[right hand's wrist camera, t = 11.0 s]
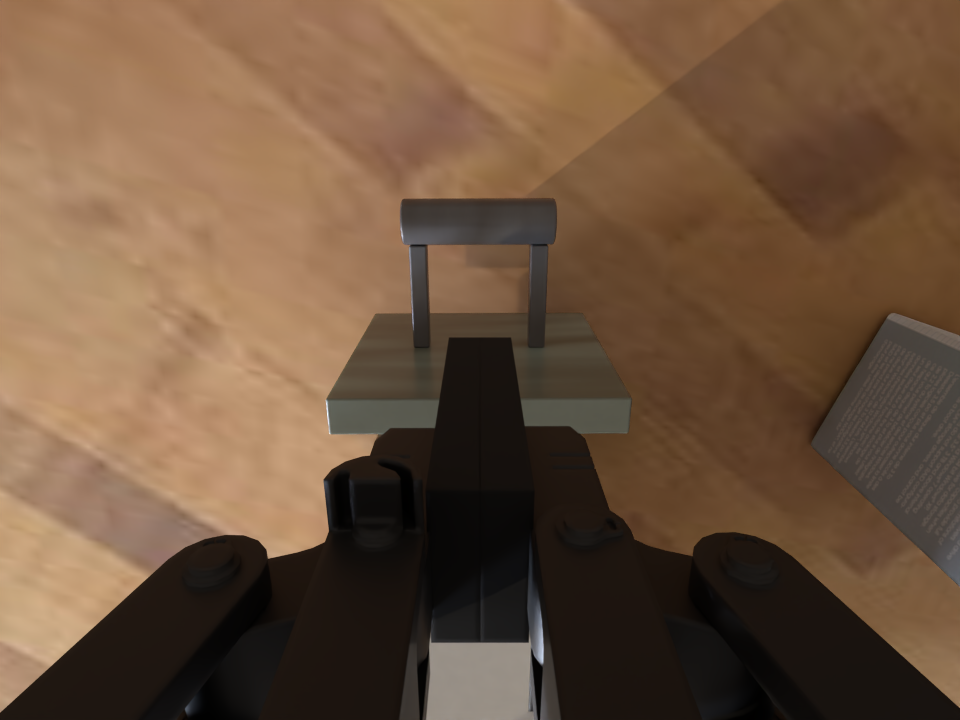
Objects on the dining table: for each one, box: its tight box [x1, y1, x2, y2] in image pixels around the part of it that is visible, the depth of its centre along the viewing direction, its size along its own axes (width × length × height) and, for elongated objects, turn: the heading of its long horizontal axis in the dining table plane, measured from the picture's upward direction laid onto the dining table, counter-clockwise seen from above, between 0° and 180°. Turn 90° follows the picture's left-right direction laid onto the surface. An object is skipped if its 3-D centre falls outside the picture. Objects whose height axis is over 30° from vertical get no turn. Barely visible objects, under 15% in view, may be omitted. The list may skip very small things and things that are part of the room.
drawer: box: [326, 198, 632, 440], centre depth 23 cm, size 20×9×9 cm, turn 0°
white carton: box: [426, 631, 534, 720], centre depth 28 cm, size 16×10×11 cm, turn 0°
